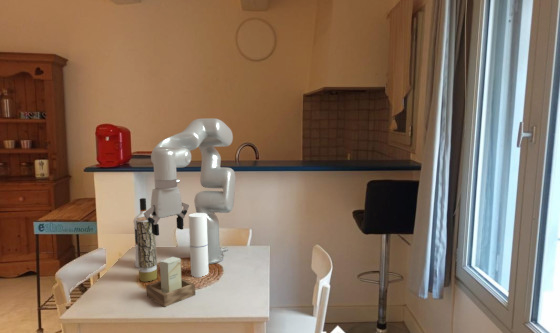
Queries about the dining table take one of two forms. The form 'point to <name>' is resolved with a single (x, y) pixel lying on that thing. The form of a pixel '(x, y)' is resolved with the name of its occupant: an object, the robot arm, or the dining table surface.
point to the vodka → (142, 210)
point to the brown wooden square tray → (170, 293)
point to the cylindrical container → (198, 244)
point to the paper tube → (146, 250)
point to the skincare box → (170, 274)
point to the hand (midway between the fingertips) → (168, 231)
